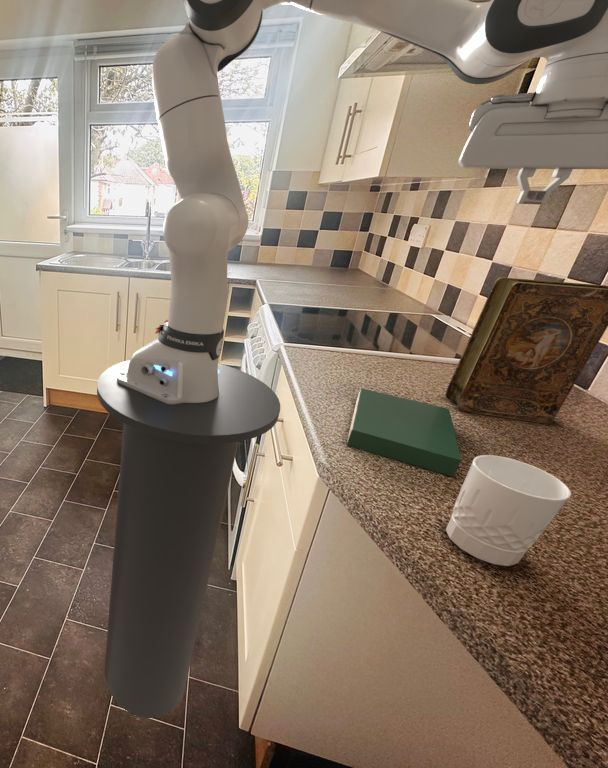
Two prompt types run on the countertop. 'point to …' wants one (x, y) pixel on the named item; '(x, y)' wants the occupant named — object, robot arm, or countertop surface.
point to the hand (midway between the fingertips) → (530, 204)
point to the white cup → (504, 508)
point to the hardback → (405, 431)
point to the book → (529, 348)
